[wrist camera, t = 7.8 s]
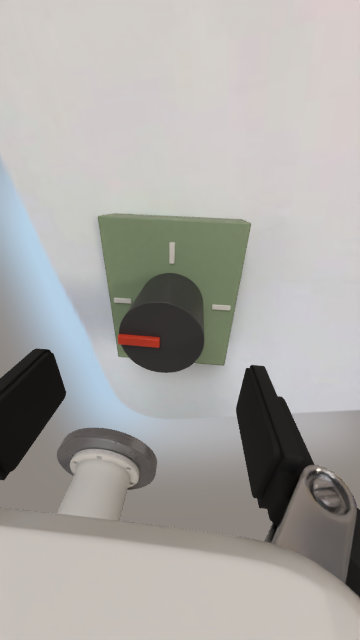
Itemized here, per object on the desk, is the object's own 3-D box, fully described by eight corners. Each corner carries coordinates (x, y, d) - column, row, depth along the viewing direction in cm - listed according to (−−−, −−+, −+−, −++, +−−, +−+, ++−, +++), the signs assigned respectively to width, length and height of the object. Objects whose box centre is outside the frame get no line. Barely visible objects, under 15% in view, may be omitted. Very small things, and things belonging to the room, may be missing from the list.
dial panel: (221, 346, 22) (224, 367, 19) (127, 338, 22) (117, 358, 19) (242, 219, 16) (252, 223, 13) (113, 213, 16) (96, 216, 13)
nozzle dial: (206, 275, 15) (209, 308, 10) (200, 332, 17) (200, 380, 13) (138, 270, 15) (111, 300, 11) (141, 327, 18) (121, 372, 13)
